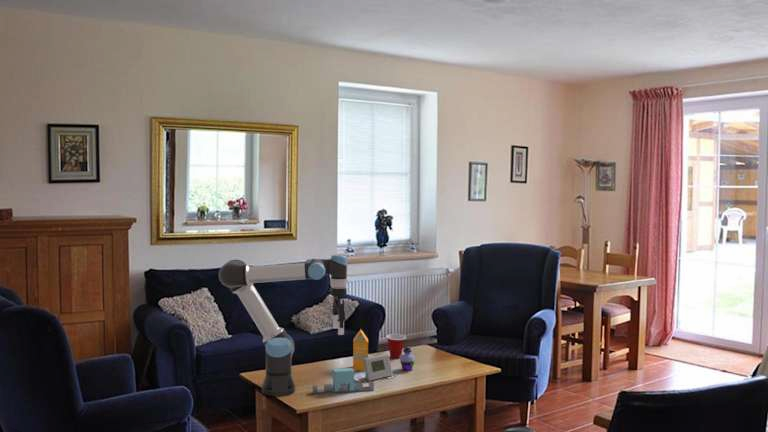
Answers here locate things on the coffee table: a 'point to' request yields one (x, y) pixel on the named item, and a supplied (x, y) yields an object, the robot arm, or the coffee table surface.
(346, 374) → the block
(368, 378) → the digital clock
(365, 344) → the orange juice
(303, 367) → the coffee table surface
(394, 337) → the plastic cup
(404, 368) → the potion bottle
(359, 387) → the rail
